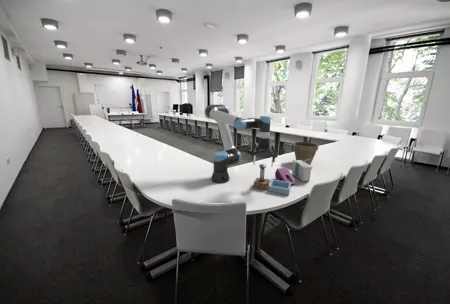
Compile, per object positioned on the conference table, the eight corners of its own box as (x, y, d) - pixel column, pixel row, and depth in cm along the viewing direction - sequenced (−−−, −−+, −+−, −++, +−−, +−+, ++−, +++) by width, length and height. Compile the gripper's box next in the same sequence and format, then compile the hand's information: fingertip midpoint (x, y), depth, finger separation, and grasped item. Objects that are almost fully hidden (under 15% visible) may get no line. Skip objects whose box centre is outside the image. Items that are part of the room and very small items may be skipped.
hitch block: (253, 188, 151) (253, 181, 150) (256, 183, 160) (257, 177, 159) (266, 190, 147) (266, 184, 146) (269, 185, 156) (269, 179, 155)
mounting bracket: (293, 190, 162) (283, 174, 175) (297, 183, 157) (286, 167, 170) (283, 191, 160) (274, 175, 173) (287, 184, 154) (277, 168, 168)
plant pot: (321, 166, 206) (324, 145, 200) (300, 167, 200) (302, 146, 195) (306, 159, 229) (308, 141, 224) (287, 160, 224) (289, 142, 219)
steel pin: (257, 187, 153) (258, 165, 148) (259, 185, 157) (260, 163, 153) (263, 188, 151) (265, 166, 147) (265, 186, 155) (266, 164, 151)
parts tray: (268, 191, 145) (269, 186, 144) (272, 184, 157) (272, 179, 156) (288, 195, 140) (289, 189, 139) (290, 187, 152) (291, 182, 151)
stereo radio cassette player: (291, 173, 184) (293, 152, 179) (299, 173, 184) (301, 152, 180) (301, 182, 164) (304, 159, 159) (311, 181, 164) (314, 158, 159)
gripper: (246, 137, 146) (245, 164, 151) (281, 139, 136) (279, 168, 141) (249, 135, 153) (248, 162, 157) (282, 137, 143) (280, 165, 148)
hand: (263, 165), depth 149 cm, fingers open, 13 cm apart
